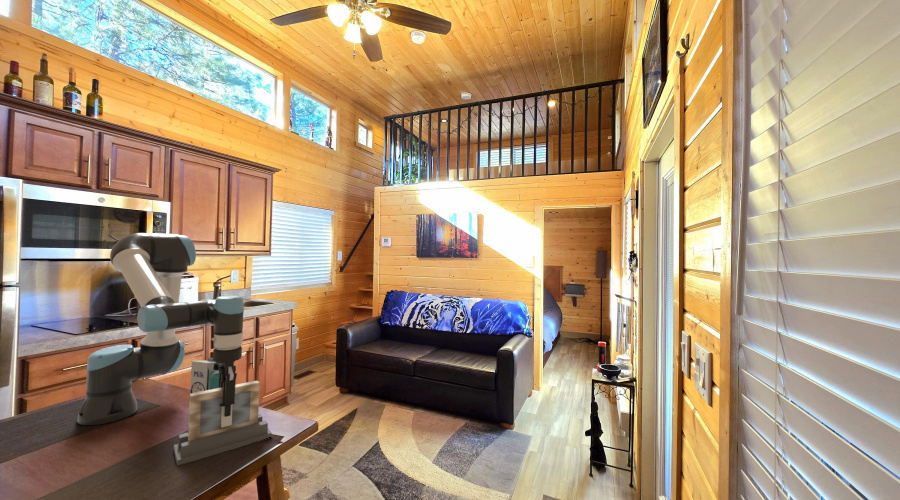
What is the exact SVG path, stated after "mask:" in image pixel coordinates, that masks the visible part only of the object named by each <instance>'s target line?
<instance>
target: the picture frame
mask: <svg viewBox="0 0 900 500" xmlns="http://www.w3.org/2000/svg"><path fill="white" fill-rule="evenodd" d="M190 393H191V392H190ZM190 393H189V401H188V402H189V405H188V424H187V425H188V426H187V427H188V428H187V433H188V441H191V440H195V439H199V438H203V437H206V436H210V435H214V434H218V433H221V432H225V431H229V430H233V429H236V428H240V427H244V426H247V425H251V424H255V423H258V415H259V408H260V405H259V403H260V381H258V380H253V381H248V382H243V383H242V382H241V383H238V384H237V383H236V384H235V400H234V401H235V403H234V404H232V425H230V426H226V427H222V428H221V409H222V407H220V404H223V387H222V388H216V389H211V390H206V391H201V392H196V393H191V394H190Z"/></svg>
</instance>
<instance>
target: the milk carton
mask: <svg viewBox="0 0 900 500" xmlns="http://www.w3.org/2000/svg"><path fill="white" fill-rule="evenodd" d="M214 363H216V362H214V361H213V357H207V360H201V359H200V360H197V359H196V360H191V370H190V393H189V395H190V394H191V393H196V392H201V391H206V390H209V383H210V378H209V377H210V375H211V374H213V373H214V372H216V371H219V370H213V367H214Z"/></svg>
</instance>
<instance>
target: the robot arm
mask: <svg viewBox="0 0 900 500" xmlns="http://www.w3.org/2000/svg"><path fill="white" fill-rule="evenodd" d="M109 259H110V262H111V264H112V266H113V268H114V269H115V270H116V271H118V272H119V273H121V274H122V275H123V278H124V279H125V281H126V283H127V284H128V287H129V288H130V290H131V292H132V294H133V295H134V297H135V299H136V301H137V302H138V304H139V306H140V308H139V309H138V312H137V316H136V319H137V324H138V325H137V326H138V328H139V330H140V331H141V332H144V333H146V335H145V336H144V337H143V338H142V339H141V340H140V343H139V346H136V347H134V345H132V344H126V343H125V344H117V345H112V346H108V347H104V348H100V349H99V350H95V351H93V352H92V353H91V354H90V355H89V356H88V357H87V362H86V363H87V364H86V366H85V367H86V368H85V371H86V379H85V380H86V382H85V383H86V386H85V399H84V401H83V402H82V405H81V406H80V409H79V411H78V414H77V424H79V425H82V426H97V425H103V424H104V425H105V424H107V423H113V422H116V421H121V420H122V419H125V418H128V417H130V416H132V415H134V414H135V413H136V412H137V411H138V401H137V399H136V397H135V395H134V392H133V389H132V387H133V386H132V385H133V384H132V383H133V381H137V380H142V379H146V378H150V377H155V376H160V375H166V374H167V373H168V374H169V373H171V372H175V371H177V370H178V369H179V368H180V367H181V366H182V364H183V363H184V359H185V352H186V351H185V345H184V343H183V342H182V341H181V340H180V337H178V336H177V335H176V330H177V329H182V328H190V327H197V326H203V325H213V326H214V327H213V334H214V335H213V336H214V337H212V338H211V341H212V342H213V347H214V348H213V351H212V358H213V361H214V362H217V363H221V364H219V365H218V370H219V380H218V388H222V387H223V404H220V407H222V409H221V428H222V427H226V426H230V425H232V404H234V403H235V401H234V400H235V385H237V376H238V374H237V372H236V370H237V367H236V365H235V364H234V363H235V362H236V361H239V360H241V359H242V358H243V357H242V356H243V355H242V353H243V346H242V345H243V339H244V338H243V337H244V335H243V332H244V331H243V330H244V329H243V328H244V327H243V326H244V312H245V307H244V298H243V297H242V296H241V295H240V296H239V295H223V296H222V295H221V296H217V297H216V298H215V299H214V298H205V299H204V298H203V299H201V300H196V301H187V302H180V294H181V284H182V277H183V275H184V274H185V273H187V272H188V268H189V267H191V266H193V265H194V264H195V262H196V259H197V252H196V247H195V244H194V242H193V240H192V238H190V237H189V236H187V235H182V234H175V233H169V234H168V233H146V232H136V233H131V234H128V235H125V236H124V237H121V238H120V239H119V240H118V241H116V243H115V244H114V245H113V246H112V248H111V250H110V252H109Z"/></svg>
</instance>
